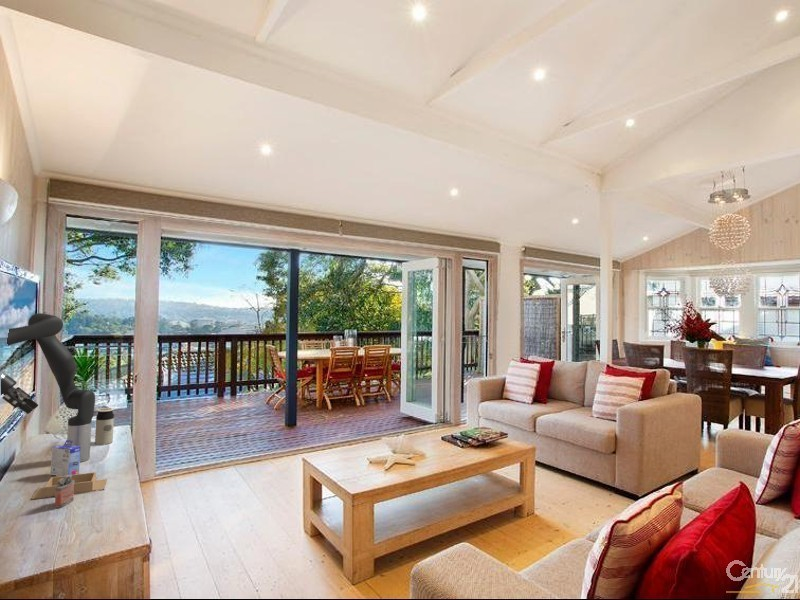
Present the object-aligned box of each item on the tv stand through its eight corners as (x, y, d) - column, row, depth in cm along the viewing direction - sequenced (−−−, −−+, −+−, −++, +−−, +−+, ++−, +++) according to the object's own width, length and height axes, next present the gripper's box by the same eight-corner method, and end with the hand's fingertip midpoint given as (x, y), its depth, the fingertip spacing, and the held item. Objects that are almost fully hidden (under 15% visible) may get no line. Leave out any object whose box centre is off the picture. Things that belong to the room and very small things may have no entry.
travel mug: (93, 442, 239) (95, 408, 239) (111, 440, 244) (112, 407, 245) (96, 446, 233) (98, 411, 233) (114, 443, 238) (115, 409, 239)
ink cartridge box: (80, 473, 195) (81, 440, 195) (68, 478, 190) (70, 444, 190) (61, 471, 197) (63, 438, 197) (49, 475, 192) (51, 442, 192)
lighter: (67, 499, 169) (68, 473, 170) (76, 499, 170) (77, 473, 170) (51, 508, 161) (52, 481, 162) (61, 508, 162) (62, 481, 162)
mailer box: (40, 485, 181) (41, 475, 182) (108, 476, 192) (108, 467, 193) (31, 499, 168) (31, 489, 168) (104, 489, 179) (104, 479, 179)
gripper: (0, 377, 164) (38, 406, 169) (11, 372, 177) (46, 399, 182) (-20, 392, 161) (19, 421, 167) (-7, 386, 174) (29, 413, 179)
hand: (33, 409), depth 174 cm, fingers open, 8 cm apart
